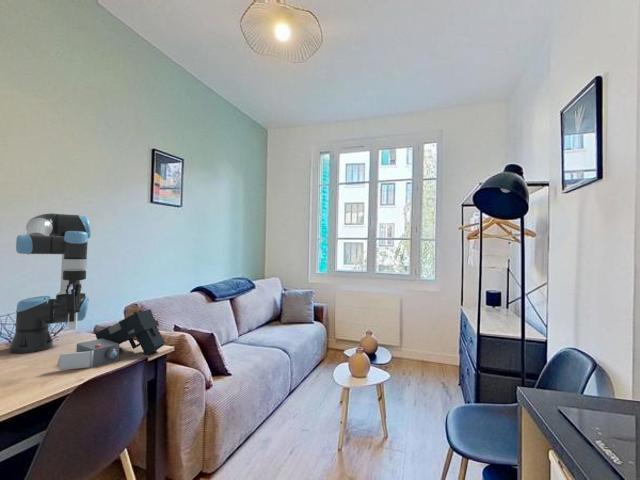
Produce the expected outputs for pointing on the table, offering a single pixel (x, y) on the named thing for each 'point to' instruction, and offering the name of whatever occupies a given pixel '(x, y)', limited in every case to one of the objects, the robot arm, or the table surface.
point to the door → (75, 360)
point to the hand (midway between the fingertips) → (72, 329)
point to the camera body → (100, 351)
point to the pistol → (135, 331)
